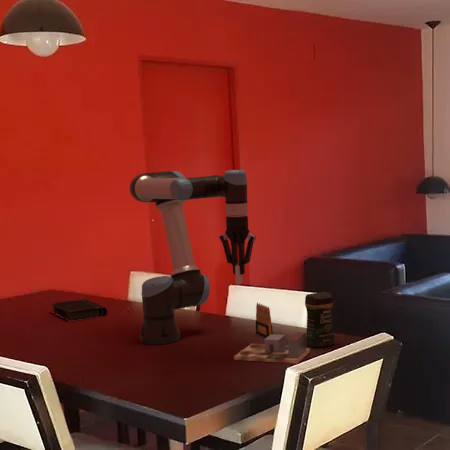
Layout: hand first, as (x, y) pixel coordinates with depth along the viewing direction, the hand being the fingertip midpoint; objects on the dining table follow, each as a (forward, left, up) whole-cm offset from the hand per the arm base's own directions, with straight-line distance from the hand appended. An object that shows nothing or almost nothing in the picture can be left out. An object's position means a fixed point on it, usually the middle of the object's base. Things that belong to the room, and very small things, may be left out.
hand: (239, 283), depth 254 cm
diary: (-97, +42, -25) cm, 109 cm away
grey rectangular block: (+13, -6, -22) cm, 26 cm away
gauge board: (+12, -3, -24) cm, 27 cm away
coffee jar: (+24, +14, -24) cm, 37 cm away
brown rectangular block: (+21, -3, -23) cm, 31 cm away
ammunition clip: (0, +22, -24) cm, 32 cm away
